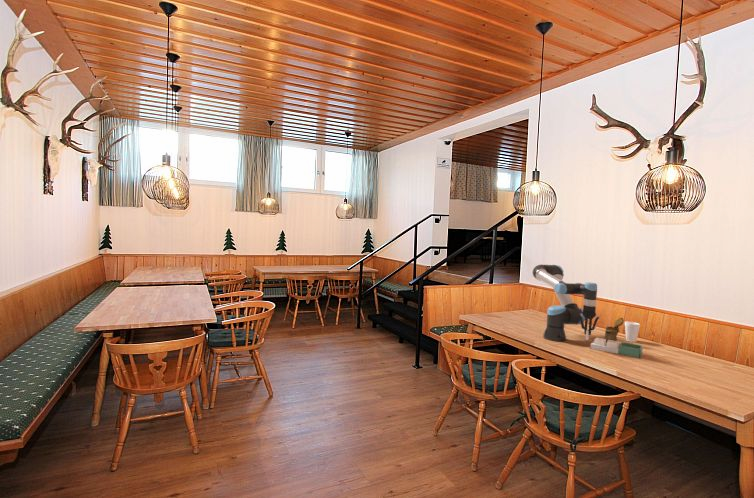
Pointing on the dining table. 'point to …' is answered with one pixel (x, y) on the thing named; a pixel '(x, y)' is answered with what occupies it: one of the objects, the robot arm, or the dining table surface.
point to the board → (604, 348)
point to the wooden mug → (613, 330)
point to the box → (630, 350)
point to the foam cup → (631, 331)
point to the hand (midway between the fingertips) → (587, 339)
